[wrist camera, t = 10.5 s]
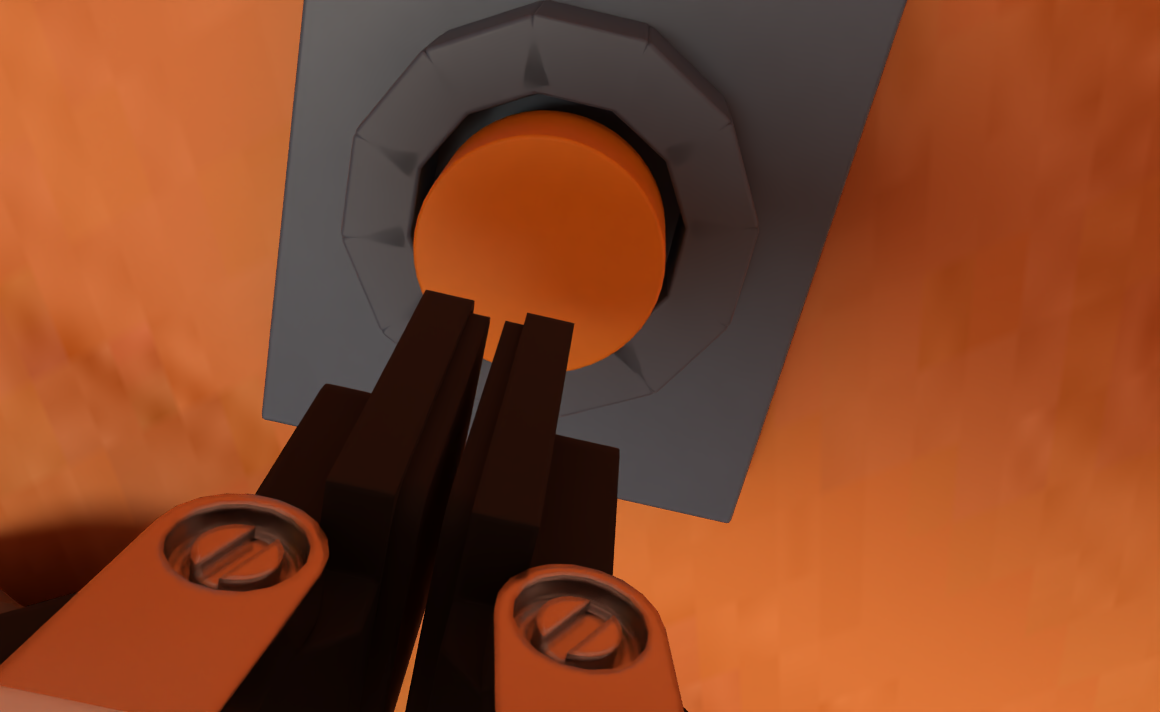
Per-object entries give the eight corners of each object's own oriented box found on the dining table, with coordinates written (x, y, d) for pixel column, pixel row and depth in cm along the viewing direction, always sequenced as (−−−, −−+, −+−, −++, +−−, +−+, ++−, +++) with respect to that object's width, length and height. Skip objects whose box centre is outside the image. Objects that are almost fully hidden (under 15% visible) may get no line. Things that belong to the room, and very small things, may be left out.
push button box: (906, -85, 19) (963, -70, 16) (724, 471, 24) (735, 578, 21) (360, -219, 19) (289, -235, 15) (293, 373, 24) (228, 465, 20)
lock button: (691, 140, 18) (694, 169, 16) (634, 354, 19) (631, 398, 18) (454, 84, 17) (433, 107, 16) (417, 304, 19) (396, 344, 18)
